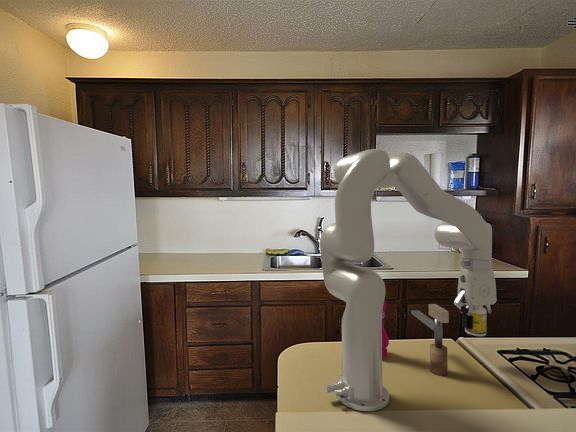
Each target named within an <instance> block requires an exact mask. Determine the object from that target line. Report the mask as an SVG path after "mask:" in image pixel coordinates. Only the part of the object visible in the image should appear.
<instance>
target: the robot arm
mask: <svg viewBox="0 0 576 432" xmlns="http://www.w3.org/2000/svg"><path fill="white" fill-rule="evenodd" d="M333 176H334V179H335V181H336V182H337V183H338V184H339V185H338V187H337V191H336V194H335V199H334V213H335V214H334V215H335V217H334V218H335V222H333V223H330V224H329V225H327V226H326V227H325V228H324V229H323V231H322V233H321V235H320V240H319V241H320V242H319V251H320V259H321V268H322V269H321V270H322V276H323V277H322V278H323V282H324V285H325V287H326V289H327V290H326V291H328V293H329V294H331V295H332V296H334V297H335V298H337V299H339V300H341V301H343V302H345V303H346V304H345V309H344V311H343V315H342V317H341V358H342V359H341V360H342V374H341V375H338V380H336V381H335V382H332V383H331V382H330V383H325V384H324V385H323V390H324V391H325V393H326V394H330V393H333V396H334V397H335V398H338V401H340V402H341V403H342V404H343V405H344V406H346V407H348V408H349V409H352V410H354V411H355V410H356V411H360V412H375V411H380V410H381V409H384V408H385V407H387V405H388V404H389V403H390V391H388V389H387V388H386V387H385V386H384V385H383V359H382V310H383V304H384V300H385V297H386V285H385V281H384V279H383V278H382V277H381V276H380V274H378V272H376V271H374V270H372V269H370V268H367V267H363V266H360V265H356V264H361V263H366V262H369V260H371V259H372V258H373V255H374V253H375V237H374V228H373V226H374V225H373V219H372V217H373V216H372V201H373V200H372V199H373V196H374V193H375V192H376V189H388V188H396V190H397V191H398V192H399V193H400V194H401V195H402V196H403V197H404V199H405V200H406V201H407V202H408V203H409V204H410V206H411V207H412V208H413V210H415V211H416V212H417V213H419V214H422V215H424V216H426V217H429V218H433V219H436V220H439V221H442V223H440V224H439V225H437V226H436V228H435V230H434V238H435V240H436V242H437V243H438V244H439V245H440V246H443V247H446V248H450V249H457V250H458V249H461V261H460V266H461V268H460V271H459V274H458V283H457V296H456V298H455V300H454V301H453V304H454V306H456V307H457V309H458V310H459V311H460V313H461V326H462V327H463V328H464V329H465V328H468V329H470V330H471V329H473V316H472V315H471V313H472V309H473V306H483V307H484V308H485V309H486V311H487V323H486V328H489V327H490V314H491V313H492V308H494V305H495V303H496V302H497V301H498V299H497V285H496V276H495V272H494V270H493V269H492V266H493V265H492V260H493V259H492V258H493V257H492V256H493V254H492V253H493V248H492V247H493V227H492V225H491V224H490V223H488V222H487V221H486V220H485V219H484V218H483V217H482V215H481V214H480V213H479V212H478V210H476V208H474V207H473V206H472V205H470V204H469V203H466V202H464V201H463V200H461V199H460V198H458V197H456V196H454V195H452V194H450V193H448V192H446V191H445V190H444V189H442V188H441V187H440V185H439V184H438V183H437V181H436V180H435V179H434V178H433V177H432V175H431V174H430V172H429V171H428V169H426V167H425V166H424V165H423V164H422V163H421V161H420V160H419V159H418V158H417V156H415V155H413V154H411V153H408V152H407V153H406V152H405V153H404V152H403V153H398V154H393V155H390V156H389V154H388V153H387V152H386V151H385V150H383V149H379V148H372V149H366V150H362V151H360V152H356V153H353V154H350V155H346V156H344V157H342V158H341V159H339V160H338V161H337V162H336V164H335V165H334V168H333ZM355 263H356V264H355ZM466 306H468V309H467V308H466Z"/></svg>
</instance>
